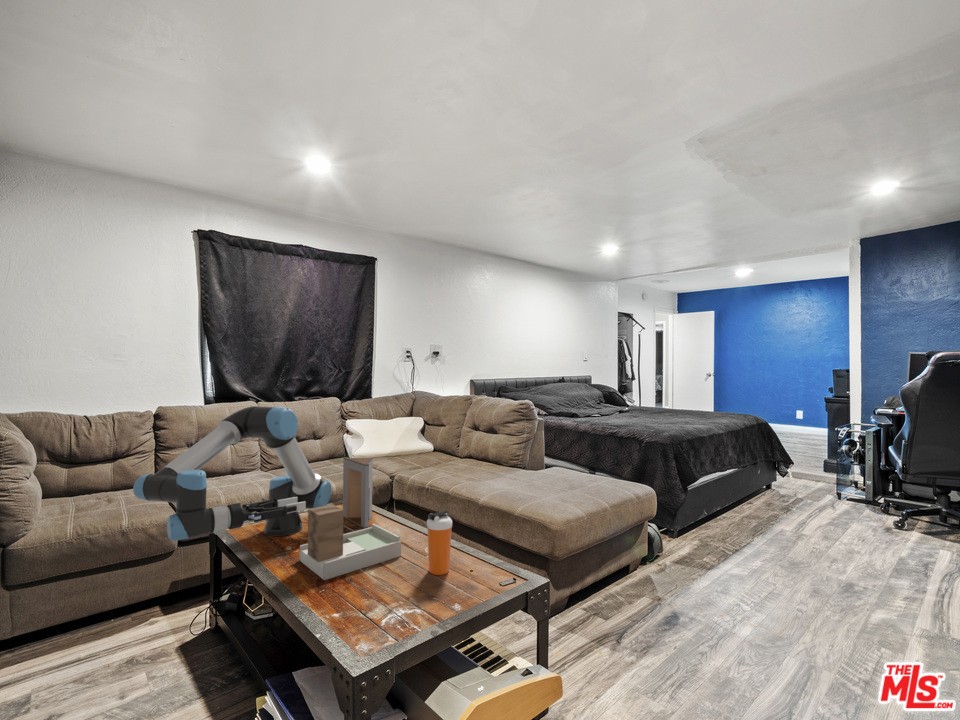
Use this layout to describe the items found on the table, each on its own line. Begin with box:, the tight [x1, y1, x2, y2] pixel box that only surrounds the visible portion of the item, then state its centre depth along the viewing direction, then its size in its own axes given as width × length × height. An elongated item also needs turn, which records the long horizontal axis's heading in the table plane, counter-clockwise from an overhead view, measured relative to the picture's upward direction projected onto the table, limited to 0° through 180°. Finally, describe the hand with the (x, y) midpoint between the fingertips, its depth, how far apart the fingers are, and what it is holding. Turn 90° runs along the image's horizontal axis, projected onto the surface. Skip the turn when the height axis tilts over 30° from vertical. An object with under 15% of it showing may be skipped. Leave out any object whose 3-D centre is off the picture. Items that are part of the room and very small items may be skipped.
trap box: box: [299, 523, 402, 581], centre depth 173 cm, size 21×30×7 cm
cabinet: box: [342, 456, 373, 529], centre depth 215 cm, size 21×10×28 cm, turn 43°
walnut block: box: [307, 504, 344, 562], centre depth 167 cm, size 9×9×16 cm
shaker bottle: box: [426, 510, 453, 576], centre depth 164 cm, size 9×9×20 cm
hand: (301, 503), depth 161 cm, fingers open, 6 cm apart
